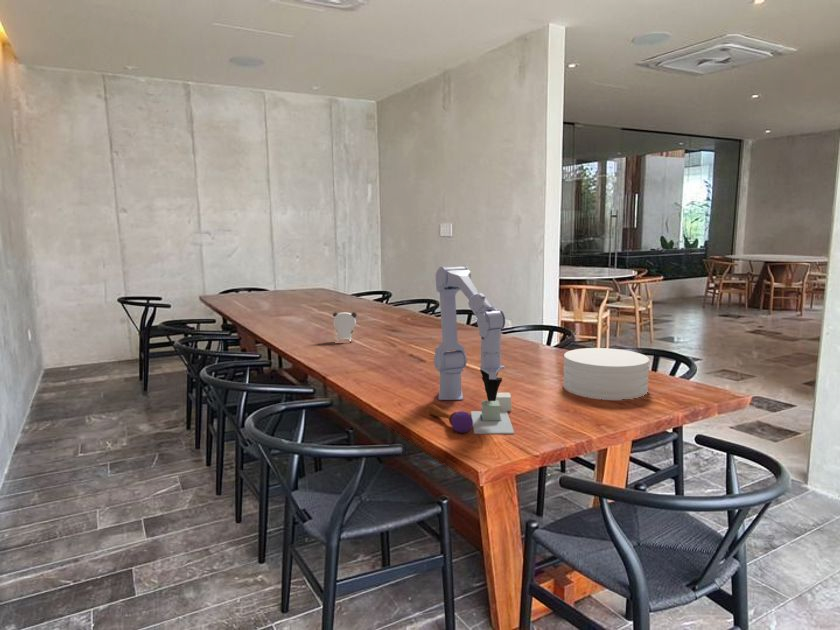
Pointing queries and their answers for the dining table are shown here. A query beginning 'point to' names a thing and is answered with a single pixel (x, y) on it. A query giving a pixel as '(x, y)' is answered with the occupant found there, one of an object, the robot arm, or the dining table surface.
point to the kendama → (454, 418)
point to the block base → (490, 411)
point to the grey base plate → (491, 424)
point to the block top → (504, 401)
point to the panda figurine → (344, 324)
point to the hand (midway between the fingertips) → (490, 396)
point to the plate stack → (606, 373)
